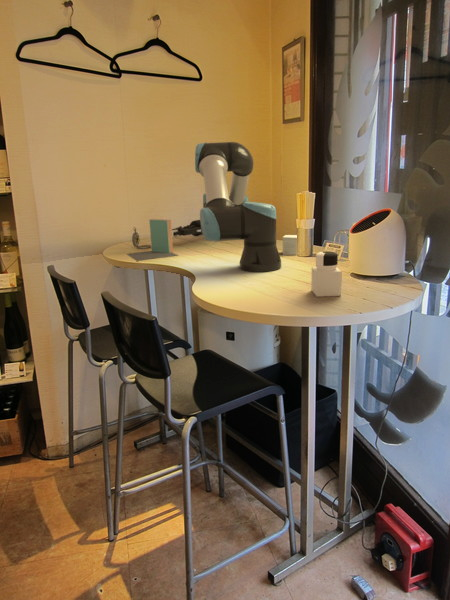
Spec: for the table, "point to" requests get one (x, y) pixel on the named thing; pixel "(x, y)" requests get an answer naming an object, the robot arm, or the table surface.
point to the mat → (150, 255)
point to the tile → (161, 235)
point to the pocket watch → (136, 241)
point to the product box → (290, 245)
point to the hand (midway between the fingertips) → (167, 234)
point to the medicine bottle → (326, 275)
